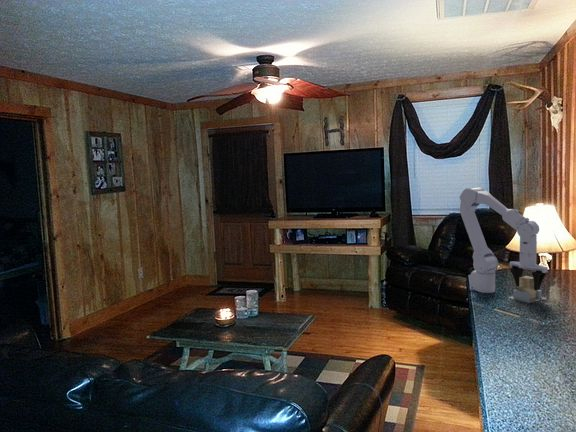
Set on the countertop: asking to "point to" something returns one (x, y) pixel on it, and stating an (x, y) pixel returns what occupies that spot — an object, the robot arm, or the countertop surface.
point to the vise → (526, 296)
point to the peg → (527, 286)
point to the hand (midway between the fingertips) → (527, 287)
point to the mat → (509, 313)
